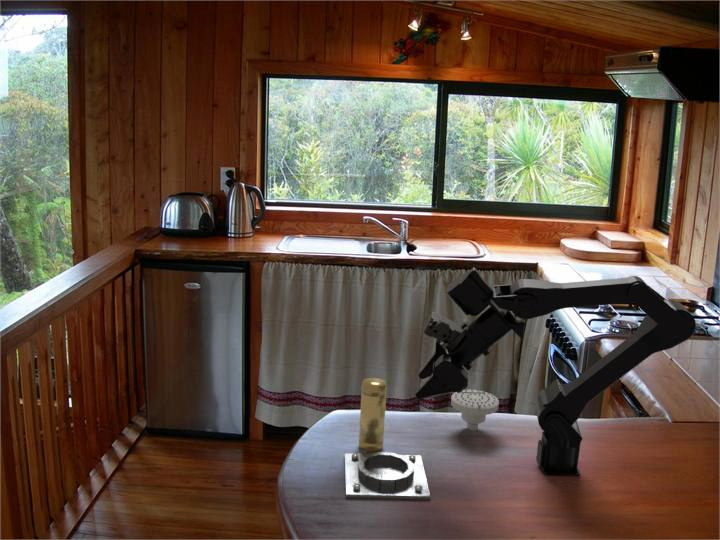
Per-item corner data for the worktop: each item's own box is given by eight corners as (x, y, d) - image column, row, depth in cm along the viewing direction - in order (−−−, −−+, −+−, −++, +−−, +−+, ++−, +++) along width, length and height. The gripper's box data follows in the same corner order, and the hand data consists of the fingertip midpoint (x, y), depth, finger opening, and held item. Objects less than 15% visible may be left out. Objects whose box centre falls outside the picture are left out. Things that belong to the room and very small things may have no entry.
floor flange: (420, 458, 141) (421, 447, 140) (430, 499, 127) (430, 487, 127) (344, 456, 140) (345, 445, 140) (346, 497, 127) (346, 485, 126)
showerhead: (456, 404, 147) (448, 384, 157) (453, 439, 149) (446, 416, 159) (504, 406, 148) (494, 385, 157) (501, 440, 149) (491, 418, 159)
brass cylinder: (382, 441, 147) (385, 378, 143) (383, 453, 142) (387, 388, 139) (358, 440, 146) (361, 377, 143) (359, 452, 142) (362, 387, 139)
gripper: (453, 286, 144) (392, 338, 148) (451, 316, 126) (382, 374, 130) (492, 329, 145) (431, 379, 149) (496, 364, 127) (427, 420, 131)
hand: (418, 386), depth 140 cm, fingers open, 9 cm apart
